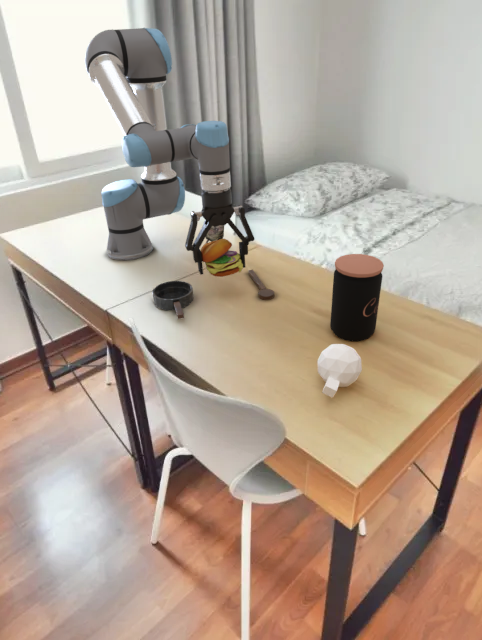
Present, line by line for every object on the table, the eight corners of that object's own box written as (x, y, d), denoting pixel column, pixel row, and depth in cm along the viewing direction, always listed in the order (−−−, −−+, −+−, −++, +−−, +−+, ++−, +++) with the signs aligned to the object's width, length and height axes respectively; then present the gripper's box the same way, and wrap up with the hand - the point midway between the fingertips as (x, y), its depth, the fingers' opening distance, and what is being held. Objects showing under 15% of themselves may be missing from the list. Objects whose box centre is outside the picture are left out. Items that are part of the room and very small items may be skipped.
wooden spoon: (243, 274, 141) (243, 271, 140) (257, 272, 142) (257, 268, 141) (261, 301, 126) (261, 297, 126) (276, 298, 127) (276, 294, 127)
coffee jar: (365, 348, 106) (374, 278, 96) (322, 335, 111) (327, 267, 101) (380, 326, 113) (390, 258, 104) (339, 315, 118) (345, 250, 109)
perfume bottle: (318, 355, 101) (302, 394, 93) (332, 327, 95) (316, 366, 86) (355, 372, 100) (342, 413, 91) (372, 345, 93) (359, 387, 85)
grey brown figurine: (216, 247, 160) (211, 189, 149) (239, 255, 153) (236, 195, 142) (198, 254, 155) (192, 195, 144) (221, 263, 148) (216, 202, 137)
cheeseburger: (240, 279, 121) (229, 245, 117) (203, 286, 125) (190, 253, 120) (247, 262, 130) (237, 230, 125) (212, 269, 133) (201, 237, 128)
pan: (152, 295, 132) (150, 284, 130) (189, 289, 134) (188, 278, 132) (156, 314, 123) (154, 302, 121) (197, 307, 125) (196, 295, 123)
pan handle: (174, 311, 124) (173, 301, 122) (180, 310, 124) (179, 300, 122) (178, 325, 118) (177, 315, 116) (185, 324, 118) (183, 314, 116)
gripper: (171, 199, 109) (181, 281, 121) (265, 187, 114) (267, 267, 126) (167, 190, 115) (177, 270, 127) (256, 179, 120) (258, 257, 132)
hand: (221, 269), depth 126 cm, fingers closed on cheeseburger, 11 cm apart
